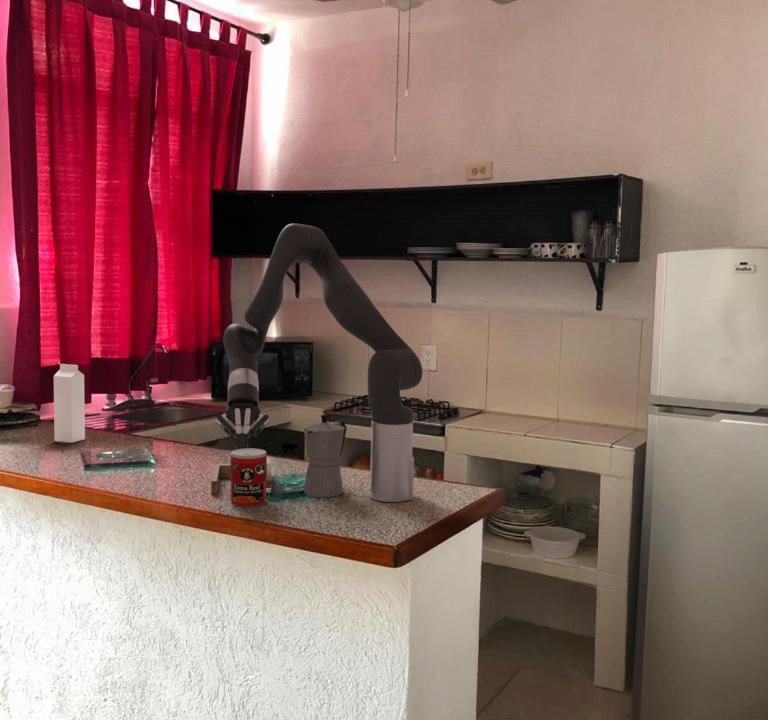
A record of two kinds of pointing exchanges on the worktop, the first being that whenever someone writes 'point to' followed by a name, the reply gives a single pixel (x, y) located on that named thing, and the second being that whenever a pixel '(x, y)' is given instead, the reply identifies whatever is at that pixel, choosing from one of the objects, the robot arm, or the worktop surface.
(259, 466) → the canned food
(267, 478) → the walnut u-shaped block
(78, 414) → the milk
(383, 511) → the worktop surface
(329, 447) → the coffeepot
